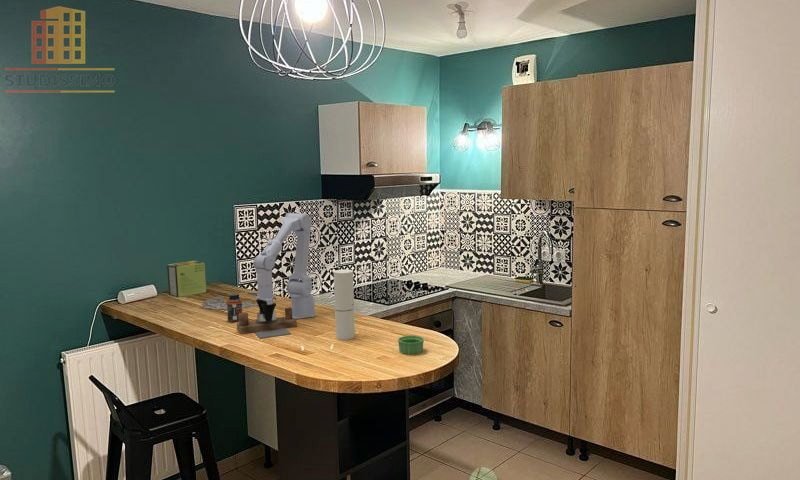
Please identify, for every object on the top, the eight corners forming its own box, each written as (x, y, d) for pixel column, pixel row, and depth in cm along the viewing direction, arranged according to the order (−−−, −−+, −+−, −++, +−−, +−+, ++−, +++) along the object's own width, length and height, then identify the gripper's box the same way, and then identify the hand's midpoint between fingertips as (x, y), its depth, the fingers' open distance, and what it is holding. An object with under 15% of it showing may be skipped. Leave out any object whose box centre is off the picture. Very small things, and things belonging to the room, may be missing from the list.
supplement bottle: (238, 322, 253) (237, 295, 251) (225, 322, 254) (223, 295, 252) (245, 319, 258) (243, 292, 257) (232, 318, 260) (230, 292, 258)
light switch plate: (273, 317, 247) (272, 307, 246) (276, 319, 243) (275, 310, 242) (257, 319, 244) (256, 309, 243) (259, 321, 240) (259, 312, 240)
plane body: (291, 322, 252) (290, 305, 251) (296, 326, 245) (296, 309, 244) (237, 329, 243) (236, 312, 242) (241, 334, 236) (240, 316, 235)
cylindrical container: (357, 335, 232) (356, 270, 228) (350, 340, 225) (348, 273, 222) (340, 333, 234) (338, 269, 231) (332, 338, 227) (330, 272, 224)
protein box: (206, 292, 313) (205, 262, 311) (178, 297, 302) (176, 266, 300) (196, 289, 320) (194, 260, 318) (168, 294, 309) (166, 264, 307)
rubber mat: (285, 329, 242) (285, 328, 241) (291, 334, 234) (291, 333, 234) (255, 333, 236) (254, 332, 236) (259, 338, 229) (259, 337, 229)
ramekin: (392, 351, 212) (392, 339, 211) (410, 345, 218) (410, 333, 217) (411, 357, 205) (411, 344, 205) (429, 351, 211) (429, 338, 211)
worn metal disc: (185, 305, 287) (185, 304, 287) (243, 291, 315) (243, 290, 315) (232, 314, 268) (232, 313, 268) (290, 298, 296) (290, 297, 296)
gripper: (250, 282, 246) (252, 315, 248) (259, 289, 233) (260, 324, 235) (268, 281, 249) (269, 313, 251) (277, 287, 236) (278, 321, 238)
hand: (266, 318), depth 243 cm, fingers open, 7 cm apart
